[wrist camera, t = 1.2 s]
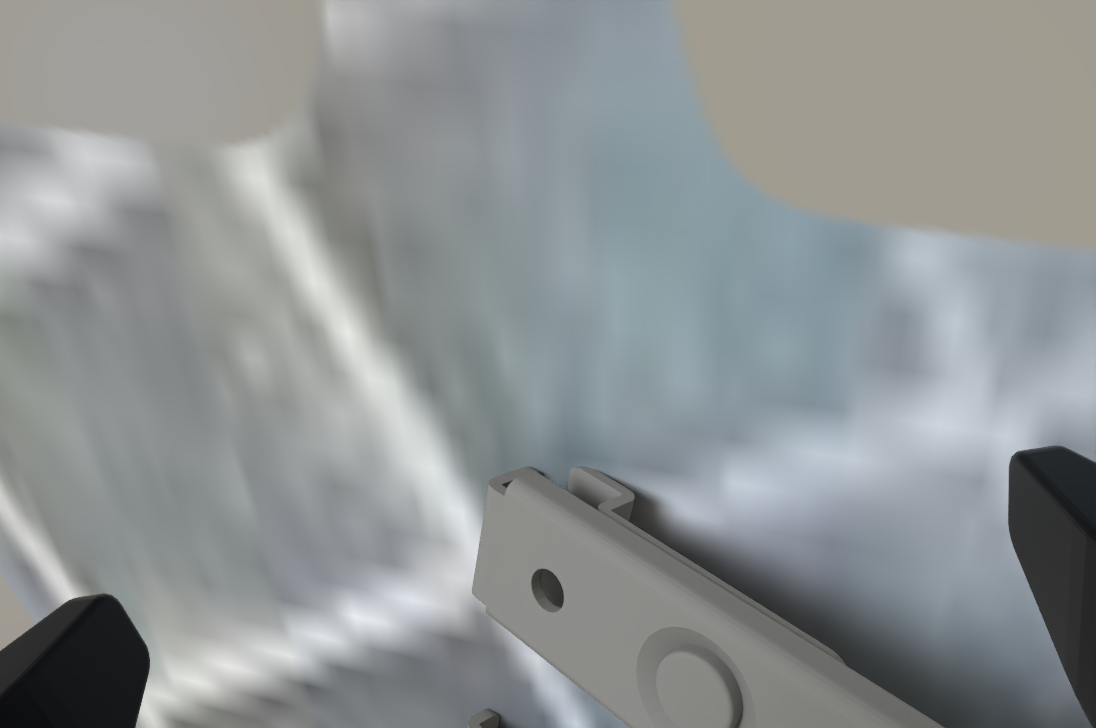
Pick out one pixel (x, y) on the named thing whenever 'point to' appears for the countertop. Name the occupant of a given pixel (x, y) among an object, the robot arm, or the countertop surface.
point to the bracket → (654, 620)
